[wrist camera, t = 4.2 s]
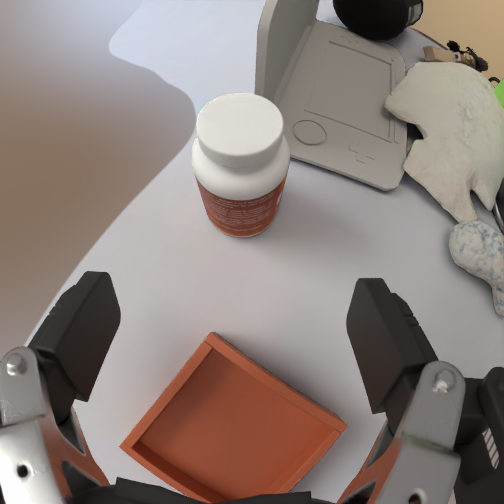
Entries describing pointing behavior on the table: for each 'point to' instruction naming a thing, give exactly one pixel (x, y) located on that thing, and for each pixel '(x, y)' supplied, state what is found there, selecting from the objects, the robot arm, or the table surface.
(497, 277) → the decorative stone
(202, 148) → the pill bottle
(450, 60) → the toy figure
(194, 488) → the red tray
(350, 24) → the container
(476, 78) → the grey flat irregular slab
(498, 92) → the tumbler
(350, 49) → the game console
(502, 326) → the table surface
